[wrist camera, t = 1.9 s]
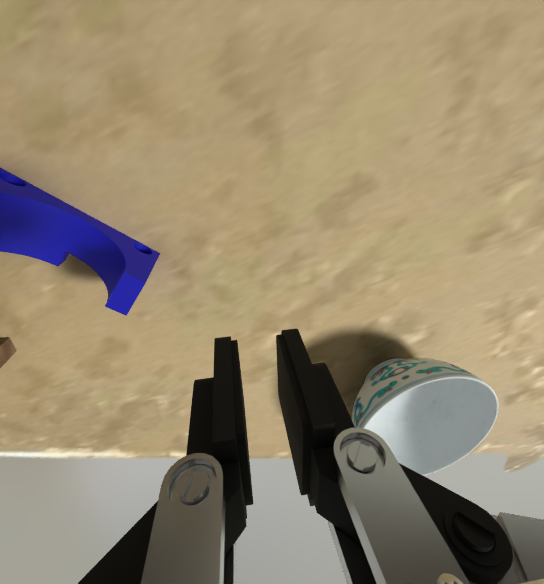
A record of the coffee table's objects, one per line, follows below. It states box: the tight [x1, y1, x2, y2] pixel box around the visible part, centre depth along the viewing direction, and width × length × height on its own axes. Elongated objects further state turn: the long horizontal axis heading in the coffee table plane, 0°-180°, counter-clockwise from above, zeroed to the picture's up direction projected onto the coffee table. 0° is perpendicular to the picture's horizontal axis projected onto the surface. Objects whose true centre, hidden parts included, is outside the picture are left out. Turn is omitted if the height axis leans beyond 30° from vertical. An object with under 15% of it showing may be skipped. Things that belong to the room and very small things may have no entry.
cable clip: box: [0, 168, 160, 315], centre depth 22 cm, size 12×4×6 cm, turn 54°
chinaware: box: [352, 358, 498, 476], centre depth 34 cm, size 15×15×8 cm
